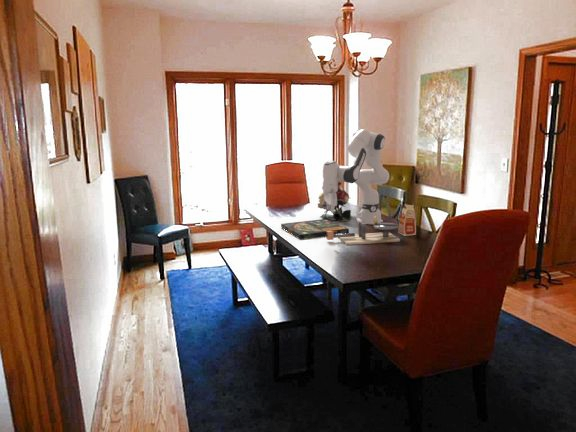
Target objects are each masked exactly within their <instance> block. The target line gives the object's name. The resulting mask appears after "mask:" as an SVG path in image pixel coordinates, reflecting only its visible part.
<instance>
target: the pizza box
mask: <svg viewBox="0 0 576 432" xmlns="http://www.w3.org/2000/svg"><path fill="white" fill-rule="evenodd" d="M280 226H281V227H282V228H284V229H285V230H284V229H283V230H284V231H286V230H287V231H288V232H287V231H286V232H287V233H289V232H290V233H289V234H291V233H292V234H293V236H294V235H295V236H294V237H296V238H297V237H298V238H297V239H299V238H300V239H299V240H304V238H306V239H311V238H321V237H326V231H333V234H345V233H350V229H349V228H348V227H345V226H343V225H342V224H341V225H340V224H338V223H336V222H335V221H330V220H327V219H322V218H320V219H313V220H303V221H297V222H296V221H295V222H286V223H280ZM281 227H280V228H281ZM282 228H281V229H282ZM292 234H291V235H292Z"/></svg>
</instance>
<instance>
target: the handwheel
mask: <svg viewBox="0 0 576 432" xmlns="http://www.w3.org/2000/svg"><path fill="white" fill-rule="evenodd" d="M372 225H373V228H374V229H377V230H382V231H383V230H389V231H392V230H393V231H394V230H398V228H399V224H397V223H393V222H381V223H377V217H373V224H372Z"/></svg>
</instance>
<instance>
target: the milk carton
mask: <svg viewBox="0 0 576 432" xmlns="http://www.w3.org/2000/svg"><path fill="white" fill-rule="evenodd" d="M415 213H416V212H415V208H414V205H413V204H408V203H407V204H406V203H404V205H403V207H402V210H401V214H400V216H399V217H400V218H399V222H398V228H397V230H398V231H397V234H400V235H402V236H403V237H409V236H414V235H415V236H416V235H417V223H416V214H415Z"/></svg>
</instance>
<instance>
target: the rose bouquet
mask: <svg viewBox="0 0 576 432" xmlns="http://www.w3.org/2000/svg"><path fill="white" fill-rule="evenodd" d="M337 182H338V191H337V192H336V194H337V206H335V208H334V212H333V213H332V214H329V213H328V212H331V205H330V209H327V204H326V201H325V200H324V194H323V192H322V193H320V194H319V195H318V203H317V208H318V209H319V208H320V209H323V210H325V211H324V213H323V214H321V215H320V216H319V218H320V219H327V220H330V221H332V222H338V221H339V220H338V218H340V219H342V220H341V221H342V222H347V223H349V222H350V221H351V218H352V217H351V216H352V215H351V213H352V210H351V209H346V210H343V207H344V208H345V207H346V206H345V205H347V204H348V203H349V199H350V195H349V193H347V191H346V190H344V187H343V186H342V185H344V184H343V183H344V182H340V181H337Z"/></svg>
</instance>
